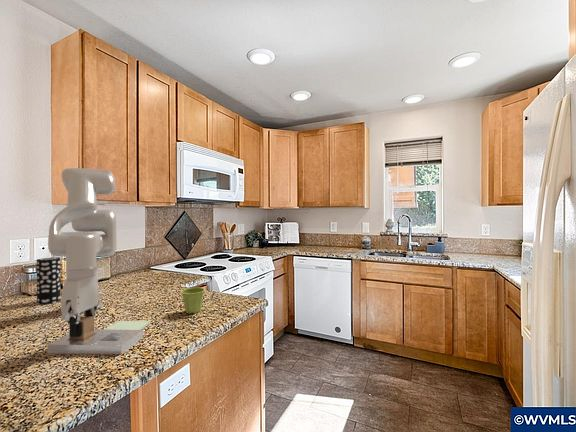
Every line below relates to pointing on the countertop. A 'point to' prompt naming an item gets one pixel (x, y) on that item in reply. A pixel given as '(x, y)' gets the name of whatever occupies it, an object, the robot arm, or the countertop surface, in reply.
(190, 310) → the plant pot
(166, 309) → the countertop surface
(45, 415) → the countertop surface
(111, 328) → the sage pad
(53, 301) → the spotted tube
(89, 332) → the walnut block
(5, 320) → the countertop surface
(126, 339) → the socket plate
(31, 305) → the countertop surface
